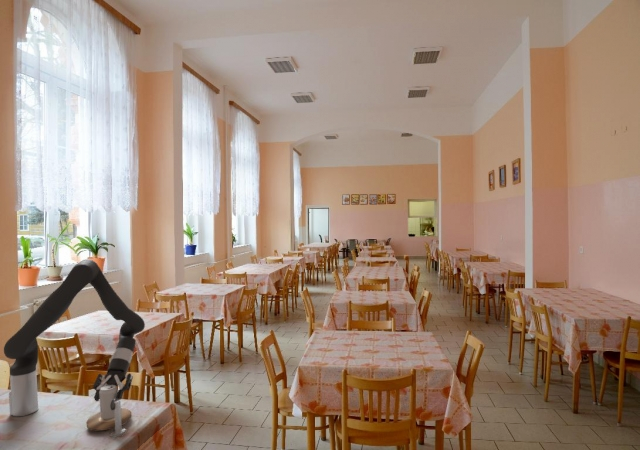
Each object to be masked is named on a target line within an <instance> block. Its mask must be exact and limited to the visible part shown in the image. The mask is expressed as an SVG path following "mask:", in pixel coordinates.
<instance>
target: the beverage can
mask: <svg viewBox="0 0 640 450" xmlns="http://www.w3.org/2000/svg"><path fill="white" fill-rule="evenodd" d="M105 385H106V384H105ZM117 393H118V388H117V386H116V385H106V386H103V387H101V388H100V392H99V396H100V399H99V408H100V410H99V411H100V412H99V413H100V414H101V418H102V419H104V420H110V419H113V418H115V414H114V410H111V407H110V405H111V401H112V400H113V399H116V396H117Z"/></svg>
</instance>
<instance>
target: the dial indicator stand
mask: <svg viewBox="0 0 640 450" xmlns="http://www.w3.org/2000/svg"><path fill="white" fill-rule="evenodd" d="M121 406H122V405H121V400H120V399H113V400H112V401H111V405H110V407H111V410H114V414H115V428H114V431H113V432H111V433H110V437H111V438H122V437H123V436H124V435H125V434H126V433H127V431H128V430H127V428H123V427H122V424H121Z"/></svg>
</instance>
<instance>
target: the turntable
mask: <svg viewBox="0 0 640 450" xmlns="http://www.w3.org/2000/svg"><path fill="white" fill-rule="evenodd" d="M132 416H133V415H132V411H131V409H128V408H121V424H122V425H124V424H126V423H128V422H129V421H130V420H131V418H132ZM85 425H86V428H87V429H88V430H90V431H97V432H99V431H106V430H111V429H115V418H113V419H110V420H104V419H102V418H101V414H100V412H98V413H95V414H93V415H91V416H90V417H89V418H88V419H87V420H86V424H85Z"/></svg>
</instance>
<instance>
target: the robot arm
mask: <svg viewBox="0 0 640 450" xmlns="http://www.w3.org/2000/svg"><path fill="white" fill-rule="evenodd" d="M89 284H90V285H91V286H92V288H93V289H94V290H95V291H96V293H97V295H98V296H99V298H100V301H101V303H102V305H103V307H104V308H105V310H106V311H107V313H109V314H110V316H112V318H113V319H114V320H116V321H122V322H123V323H122V325H121V326H120V329H119V335H118V342H117V344H116V345H117V346H116V348H115V351H114V352H113V354H112V357H111V360H110V362H109V365H108V367H107V371H106V373H105V374H101V373H99V374H97V377H96V379H95V381H94V384H93V386H92V389H94V391H95V393H94V395H93V399H94V400H95V402H100V396H99V392H100V388H101V387H103V386H106V385H116V387H118V388H119V389H117V396H116V399H120V401H121V400H122V399H123V396H124V393H125V391H129V390H131V386H132V381H133V378H134V376H133V375H132V374H131V373H128V371H129V368H130V364H131V362H132V359H133V353H134V350H135V348H136V345H137V343H136V342H137V341H136V339H135V338H134V336H135V335H137V334H138V333H142V331H144V330H145V327H146V323H145V321H144V319H143V318H142V316H140V315H139V314H138V313H137V312H135V311H133V310H132V309H130V308H129V307H128V305H127V304H126V303H125V302H124V301H123V300H122V299H121V297H120V296H119V295H118V294H117V292H116V291H115V290H114V289H113V287H112V286H111V284H110V283H109V281H108V280H107V278H106V276H105V275H104V273H103V271H102V270H101V267H100V266H99V265H98V263H97V262H96V261H95V260H92V259H89V258H88V259H82V260H80V261H79V262H78V263H77V264H75V265H74V266H73V267H72V268H71V270H70V272H69V273H68V275H66V277H65V279H64V280H63V282H62V283H61V284H60V285H59V286H58V287H57V288H56V289H55V290H53V292H52V293H50V295H49V296H48V297H46V299H44V301H43V302H41V304H40V305H39V306H38V308H37V309H36V311H34V313H33V314H32V315H31V316H30V317H29V318H28V320H27V321H26V322H25V323H24V325H22V327H21V328H19V329H18V331H17V332H16V333H15V334H14V335H12V336H11V337H10V338H9V339H8V340H7V341H6V342H5V344H4V346H3V353H4V354H3V355H4V356H5V357H6V358H8V359H10V360H14V362H13V363H12V365H11V366H10V368H9V379H10V391H9V392H8V403H9V416H12V417H22V416H23V417H25V416H27V415H31V414H33V413H36V412H37V411H39V399H38V398H39V397H38V396H39V395H38V380H37V378H38V377H37V376H38V375H37V365H38V360H39V346H38V345H39V344H38V340H37V338H38V337H39V336H41V334H42V333H44V332H45V331H46V330H48V329H49V328H51V327H52V326H53V325H55V323H56V322H58V320H59V319H60V318H62V316H63V315H64V314H65V313H66V312H67V311H68V309H69V307H70V306H71V304H72V303H73V301H74V299H75V297H77V295H78V294H79V293H80V292H81V291H82V290H83V289H85V287H87V286H88V285H89ZM127 373H128V374H127ZM124 380H126V381H125V384H124V383H123V381H124Z"/></svg>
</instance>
